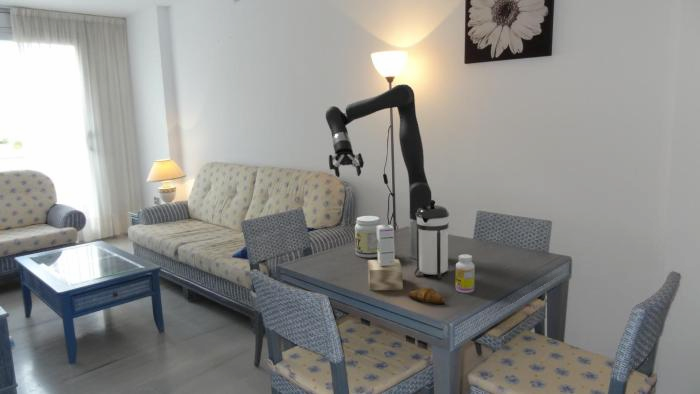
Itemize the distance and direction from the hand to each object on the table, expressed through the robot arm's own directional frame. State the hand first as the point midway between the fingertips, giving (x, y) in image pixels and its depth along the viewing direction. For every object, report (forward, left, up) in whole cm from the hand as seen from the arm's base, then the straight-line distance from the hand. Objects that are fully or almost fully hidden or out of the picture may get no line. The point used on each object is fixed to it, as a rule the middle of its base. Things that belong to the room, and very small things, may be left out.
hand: (348, 175), depth 207 cm
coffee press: (-29, +19, -39) cm, 52 cm away
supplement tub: (-11, -13, -39) cm, 43 cm away
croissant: (-16, +45, -39) cm, 62 cm away
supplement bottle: (-33, +40, -39) cm, 65 cm away
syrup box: (-8, +25, -31) cm, 40 cm away
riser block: (-7, +25, -39) cm, 47 cm away
